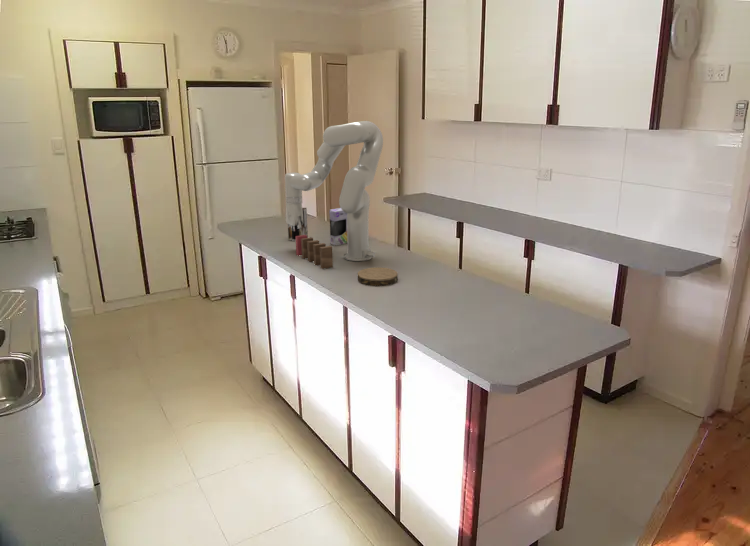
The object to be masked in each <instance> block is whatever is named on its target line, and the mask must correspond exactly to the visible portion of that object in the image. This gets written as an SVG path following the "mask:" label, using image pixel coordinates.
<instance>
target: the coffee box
mask: <svg viewBox="0 0 750 546" xmlns="http://www.w3.org/2000/svg"><path fill="white" fill-rule="evenodd" d="M302 210H303V225H301V228H300V231H299V235H307V238H309V233H308V232H309V231H308V215H307V214H308V213H307V211H308V210H307V207H302ZM292 231H293V230H291V225H290V224H288V223H287V233H288V234H287V235H288V236H287V237H288V241H289V240H292V241H293V242H294V241H295V242H296V239H295V240H294V239H292ZM292 241H291V242H292Z"/></svg>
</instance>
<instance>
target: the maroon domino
mask: <svg viewBox="0 0 750 546" xmlns="http://www.w3.org/2000/svg"><path fill="white" fill-rule="evenodd" d="M295 238H296V241H295V251H296V252H295V255H296V256H297V255H298V256H297V257H300V256H299V255H302V247H301V239H303V238H307V235H300V236H295Z"/></svg>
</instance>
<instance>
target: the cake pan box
mask: <svg viewBox="0 0 750 546" xmlns="http://www.w3.org/2000/svg"><path fill="white" fill-rule="evenodd" d="M328 213H329V238H330V239H329V240H330V244H331V245H332V244H333V245H332V246H335V245H336V246H340V245H343V244H347V214H348V213H345V212H344V211H343V210H342V209H341V208H340V207H337V208H332V209H329V212H328Z"/></svg>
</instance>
